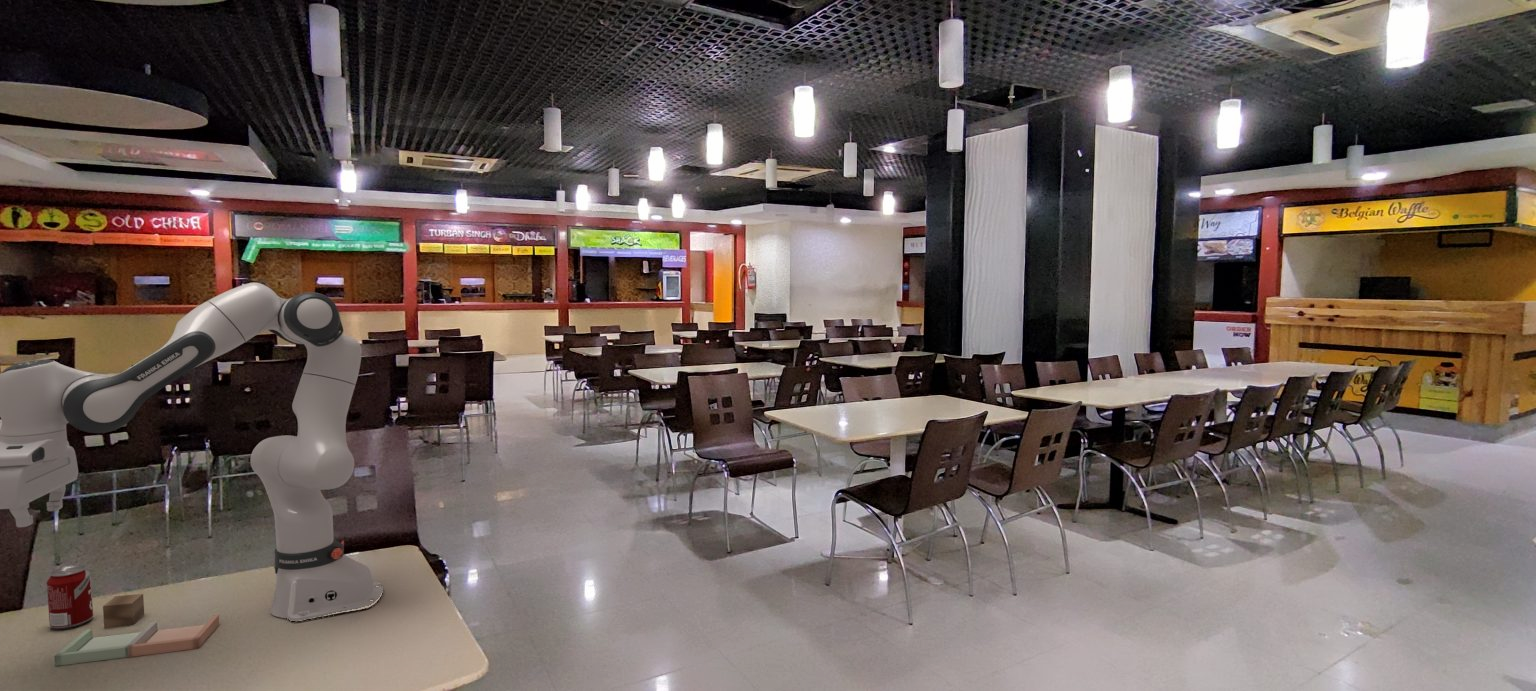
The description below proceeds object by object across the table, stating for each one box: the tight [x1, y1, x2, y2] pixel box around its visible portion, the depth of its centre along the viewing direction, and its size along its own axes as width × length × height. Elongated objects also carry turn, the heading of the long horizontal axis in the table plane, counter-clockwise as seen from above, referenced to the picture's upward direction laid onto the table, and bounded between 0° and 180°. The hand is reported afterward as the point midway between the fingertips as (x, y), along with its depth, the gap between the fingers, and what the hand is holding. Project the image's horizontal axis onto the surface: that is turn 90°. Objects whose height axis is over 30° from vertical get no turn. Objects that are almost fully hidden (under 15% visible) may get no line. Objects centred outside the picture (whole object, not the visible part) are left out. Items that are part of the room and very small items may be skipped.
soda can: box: [46, 564, 94, 630], centre depth 155 cm, size 7×7×12 cm
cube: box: [102, 593, 145, 629], centre depth 157 cm, size 5×5×5 cm
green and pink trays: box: [53, 614, 220, 667], centre depth 148 cm, size 23×11×2 cm, turn 109°
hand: (40, 517), depth 138 cm, fingers open, 8 cm apart
